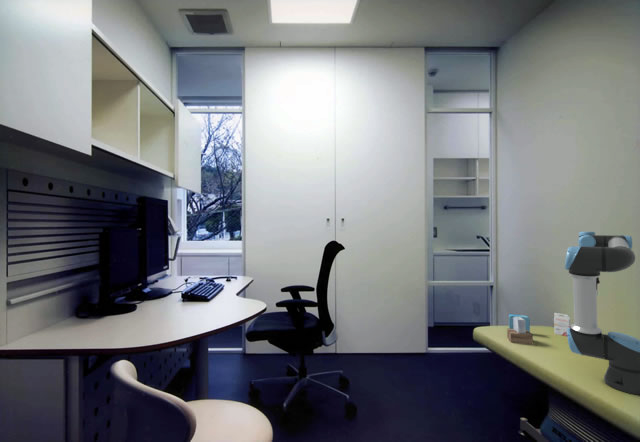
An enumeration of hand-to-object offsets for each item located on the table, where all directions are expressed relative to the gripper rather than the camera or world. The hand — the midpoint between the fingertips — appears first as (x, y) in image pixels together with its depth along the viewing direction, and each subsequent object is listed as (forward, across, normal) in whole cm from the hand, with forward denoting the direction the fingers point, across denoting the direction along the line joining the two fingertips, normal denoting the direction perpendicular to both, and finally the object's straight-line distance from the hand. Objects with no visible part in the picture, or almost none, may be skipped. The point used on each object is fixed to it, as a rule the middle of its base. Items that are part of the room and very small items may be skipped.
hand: (588, 292), depth 183 cm
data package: (+35, -24, -30) cm, 52 cm away
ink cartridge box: (+35, -29, -3) cm, 45 cm away
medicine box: (+29, -6, -35) cm, 45 cm away
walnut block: (+34, -6, -35) cm, 49 cm away
